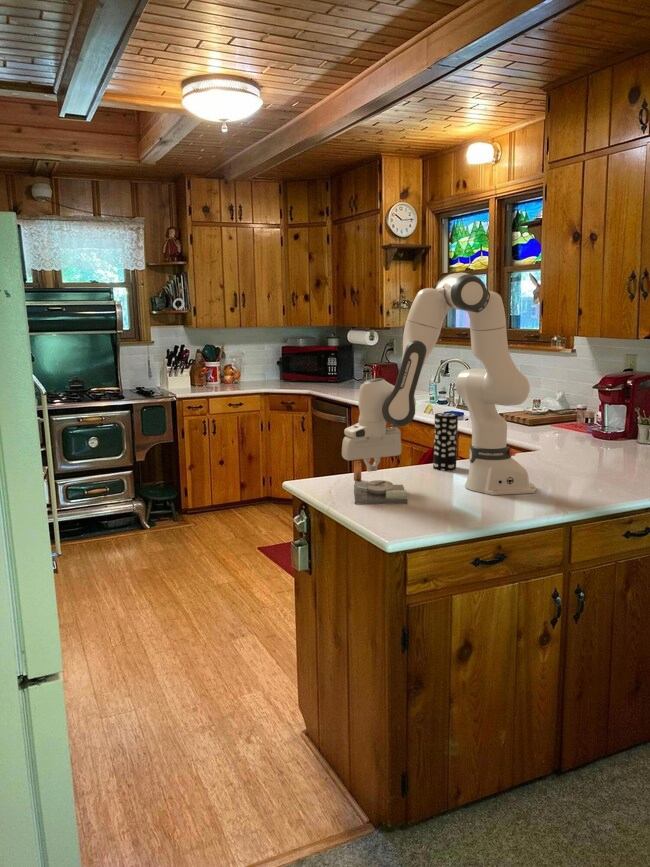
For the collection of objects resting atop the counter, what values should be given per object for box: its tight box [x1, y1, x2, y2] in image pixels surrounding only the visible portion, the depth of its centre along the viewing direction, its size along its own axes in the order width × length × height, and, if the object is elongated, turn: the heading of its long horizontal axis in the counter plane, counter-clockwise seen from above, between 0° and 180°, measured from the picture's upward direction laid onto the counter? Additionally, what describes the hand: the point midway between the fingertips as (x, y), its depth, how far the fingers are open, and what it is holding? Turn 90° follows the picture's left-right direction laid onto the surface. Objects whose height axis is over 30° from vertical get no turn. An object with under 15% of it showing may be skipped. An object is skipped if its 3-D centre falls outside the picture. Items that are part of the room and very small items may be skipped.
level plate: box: [353, 483, 409, 505], centre depth 220 cm, size 16×17×3 cm
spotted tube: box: [432, 412, 459, 472], centre depth 256 cm, size 8×8×20 cm
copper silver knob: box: [353, 460, 394, 495], centre depth 221 cm, size 8×13×8 cm, turn 59°
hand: (371, 470), depth 226 cm, fingers closed
